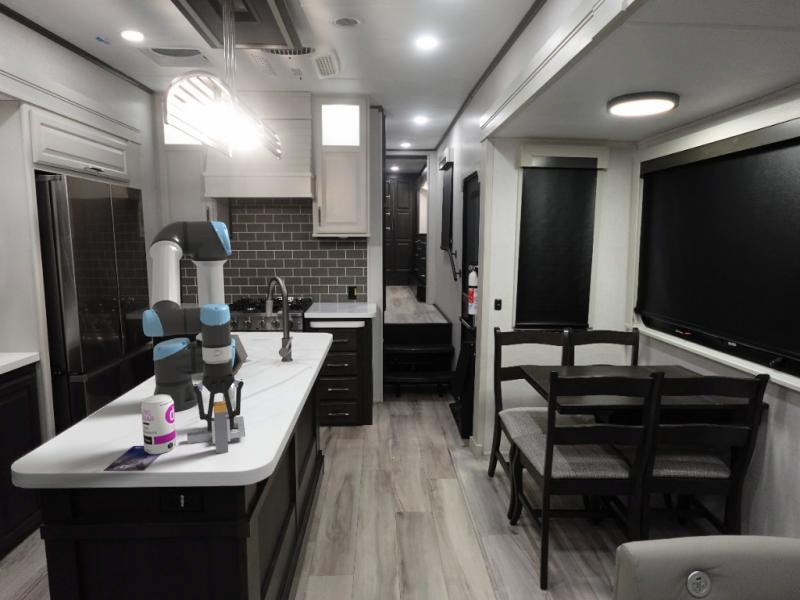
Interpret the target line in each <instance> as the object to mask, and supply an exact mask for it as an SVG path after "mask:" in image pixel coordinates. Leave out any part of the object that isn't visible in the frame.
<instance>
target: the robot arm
mask: <svg viewBox="0 0 800 600" xmlns="http://www.w3.org/2000/svg"><path fill="white" fill-rule="evenodd" d="M149 245H150V246H149V256H150V258H151V259H152V287H151V289H152V290H151V292H152V293H151V309H147V310H144V311H143V312H142V328H143V333H144V335H145V336H147V337H161V338H163V337H167V336H168V337H169V336H177V335H178V336H179V335H196V334H197V335H196V336H195V341H191V340H190V339H189V337H188V338H187V337H176V338H172V339H169V340H167V339H166V340H164V341H161V342H159V343H157V344H156V345H155V346H154V348H153V359H152V361H153V362H154V363H153V365H154V381H155V386H154V387H155V388H154V392H153V394H152V396H153V395H160V394H166V395H170V396H171V398H172V400H173V401H174V413H176V412H181V411H184V410H185V411H186V410H188V409H191V408H193V407H196V405H197V407H198V415H199V419H200V420H201V421H203V420H204V421H206V423H207V430H208V432H210V431H212V438H213V440H212V444H216V442H215V423H214V417H213V413H214V408H213V405H214V402H215V396H216V395H217V394H222V395H223V394H224V397H225V402H226V406H227V410H228V414H229V416H227V437H228V442H231V438H230V430H234V429H235V428H234V417H235V416H236V417H239V416H241V403H242V402H241V401H242V389H243V387H244V380H243V379H242V378H241V379H237V378H235V376H233V372H232V367H233V364H234V358H235V340H234V339H232V338H231V335H232V334H231V314H230V306H229V305H227V304H226V303H225V302H226V301H225V287H224V286H225V283H224V281H225V280H224V264H225V263H226V262H227V261H228V256H231V255H232V249H231V242H230V236H229V230H228V228H227V225H226V223H224V222H222V221H214V220H204V221H203V220H200V221H199V220H190V221H189V220H185V221H184V220H176V221H172V222H170V223H168V224H166V225H164V226H163V227H161V228H160V229H159V230H158V231H157V232H156V233H155V234H154V236H153V237H152V240H151V242H150V244H149ZM183 256H188V257H189V256H190V258H191V260H190V261H191V262H192V263H193V264H194V265H195V266H196V277H197V278H196V279H197V280H196V281H197V295H198V297H197V298H198V307H184V308H183V307H181V278H180V275H181V274H180V273H181V272H180V271H181V270H180V260H181V259H182V257H183ZM202 374H204V375H203V378H202V380H201V382H199V383H193V378H192V376H194V375H202ZM233 383H234V387H235V409H236V410H234V411H233V409H232V405H231V401H230V396H229V392H228V390H229V388H230V387H231V385H232V384H233ZM203 387H204V388H206V390H207V391H208V392H209V399H208V406H207V413H205V406H204V401H203V400H204V399H203V393H202V392H203V389H204V388H203Z"/></svg>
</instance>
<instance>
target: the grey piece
mask: <svg viewBox="0 0 800 600" xmlns="http://www.w3.org/2000/svg"><path fill="white" fill-rule="evenodd" d="M228 392H229V396H230V401H231V405H232V409H233V411H234V410H236V387H235V383H233V384H232V385H231V387H230V388H229V390H228ZM222 401H225V397H224V394H223V393H222ZM226 415H227V416H229V414H228V410H227V406H226ZM245 428H246V427H245V420H244V416H243V415H242V416H241V415H240V416H235V417H234V428H233V429H230V439H236V438H243V437H244V438H245V437H246V429H245ZM186 438H187V445H189V444H196V443H203V442H211V441H212V442H213V438H212V431H210V432H208V429H206V430H199V431H190V432H187V435H186Z"/></svg>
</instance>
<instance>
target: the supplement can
mask: <svg viewBox="0 0 800 600" xmlns="http://www.w3.org/2000/svg"><path fill="white" fill-rule="evenodd" d="M140 409H141V421H142V423H141V425H142V435H143V438H142V439H143V446H144V448H143V449H144V451H145V452H146V453H148V454H149V455H162V454H165V453H168V452H170V451H172V450H173V449H174V448H175V447H176V446H177V433H176V431H177V430H176V420H175V412H174V401H173V400H172V398H171V396H170V395H166V394H160V395H153V394H152V395H149V396H147V397H144V399H143V401H142V403H141V406H140Z"/></svg>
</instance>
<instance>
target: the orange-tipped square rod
mask: <svg viewBox="0 0 800 600" xmlns="http://www.w3.org/2000/svg"><path fill="white" fill-rule="evenodd" d="M213 418H214V423H215V442H216V443H215V454H224V453H229V441H228V437H227V415H226V402H225V401H223V400H222V401H221V400H219V401H214V405H213Z"/></svg>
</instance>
